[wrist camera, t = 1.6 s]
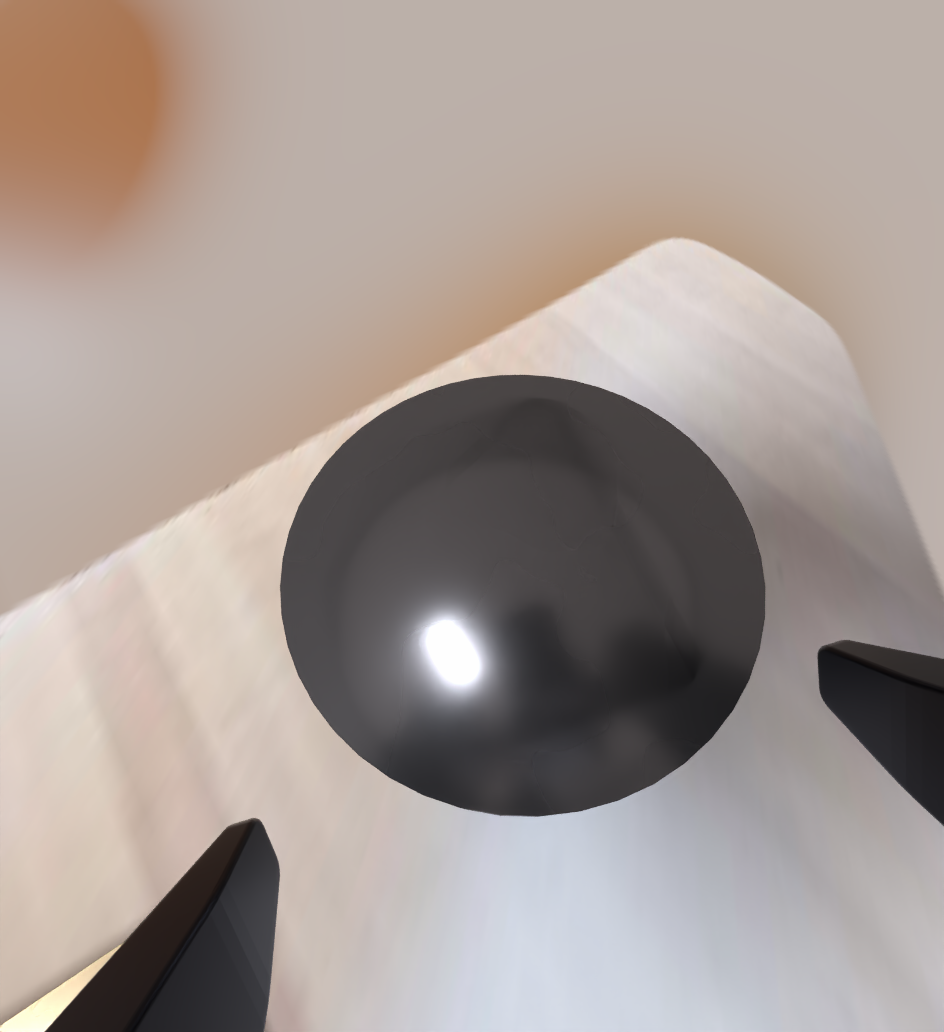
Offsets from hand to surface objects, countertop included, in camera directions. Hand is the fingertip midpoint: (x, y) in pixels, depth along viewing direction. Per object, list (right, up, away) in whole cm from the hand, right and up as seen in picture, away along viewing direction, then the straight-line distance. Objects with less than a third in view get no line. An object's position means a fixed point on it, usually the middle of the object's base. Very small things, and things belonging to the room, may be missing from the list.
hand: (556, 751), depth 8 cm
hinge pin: (0, -3, +9) cm, 10 cm away
